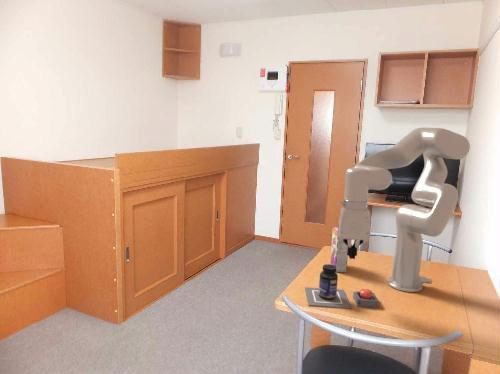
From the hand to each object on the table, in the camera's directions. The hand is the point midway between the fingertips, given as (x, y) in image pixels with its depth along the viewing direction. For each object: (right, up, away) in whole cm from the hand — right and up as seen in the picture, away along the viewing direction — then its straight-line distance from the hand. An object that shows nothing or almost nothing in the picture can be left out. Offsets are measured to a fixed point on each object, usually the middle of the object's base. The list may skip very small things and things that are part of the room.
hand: (351, 257), depth 130 cm
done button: (+5, -14, +1) cm, 15 cm away
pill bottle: (-8, -15, +4) cm, 17 cm away
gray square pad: (-8, -15, +3) cm, 17 cm away
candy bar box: (+3, -11, +33) cm, 35 cm away
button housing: (+5, -16, +1) cm, 17 cm away
